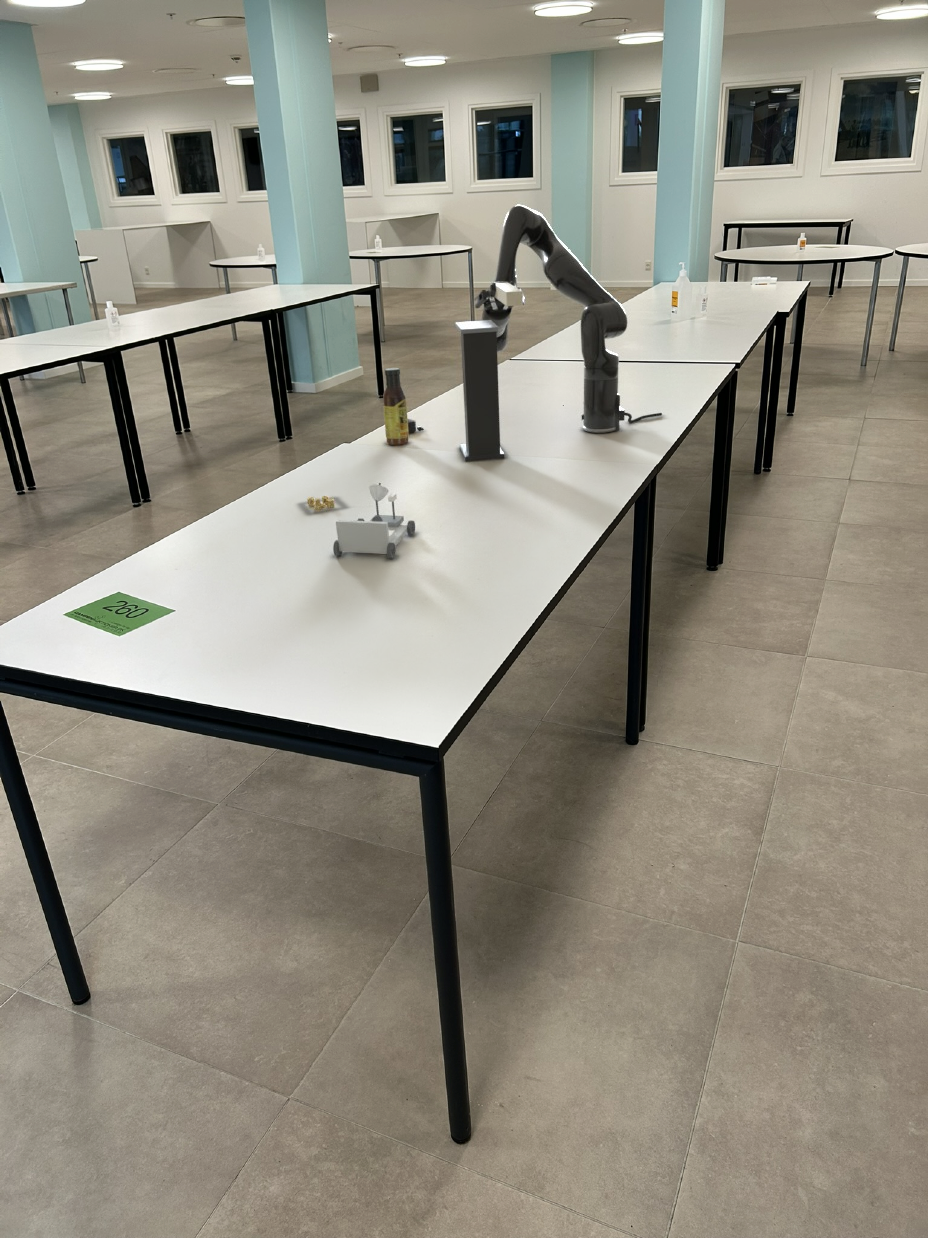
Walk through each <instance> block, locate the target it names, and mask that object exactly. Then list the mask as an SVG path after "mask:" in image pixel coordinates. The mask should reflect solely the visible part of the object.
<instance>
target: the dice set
mask: <svg viewBox="0 0 928 1238" xmlns="http://www.w3.org/2000/svg"><path fill="white" fill-rule="evenodd" d="M306 500H307V506H308V507H309V508H310V507H314V511H321V510H322V509H326V508H328V509H333V508H335V507H336V506H335V498H330V497H329V495H323V496H321V498H320V497H317V498H315V497H314V496H309V497H307V499H306ZM321 501H322V503H321Z"/></svg>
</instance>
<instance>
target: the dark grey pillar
mask: <svg viewBox="0 0 928 1238" xmlns="http://www.w3.org/2000/svg"><path fill="white" fill-rule="evenodd" d="M455 328H456V329H457V330H458V331H459V333H460V343H461V345H460V347H461V366H462V387H463V389H462V390H463V407H464V408H463V409H464V427H465V428H464V431H465V443H459V449H460V451H461V455H462V456H463V459H464V461H465V462H475V461H476V462H478V461H489V460H503V459H505V458H506V457H505V453H504V451H503V449H502V447H501V426H500V423H501V421H500V392H499V371H498V370H499V364H498V363H499V361H498V360H499V359H498V352H497V332H496V331H499V327H498V326H497V325H496V324H495V323H494V322H493V321H491V320H484V321H481V320H469V321H455Z"/></svg>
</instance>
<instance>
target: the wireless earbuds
mask: <svg viewBox="0 0 928 1238" xmlns="http://www.w3.org/2000/svg"><path fill="white" fill-rule="evenodd" d="M407 419H408V433H409V434H414V433H417V432H421V431H424V429H425V428H424V427H422V426H420V425H417V423H416V422H417V421H416V420H414V419H410V418H407Z"/></svg>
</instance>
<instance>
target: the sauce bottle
mask: <svg viewBox="0 0 928 1238" xmlns="http://www.w3.org/2000/svg"><path fill="white" fill-rule="evenodd" d="M384 375H385V385H386V387H385V390H384V391H383V394H382V400H383V401H382V402H383V419H384V428H385V429H384V431H385V438H386V444H388V445H390V446H400V445H405V444H407V443H409V436H410V435H409V434H410V433H408V419H409V418H408V407H407V405H408V404H407V397H406V395H405V392H404V390H403V388H402V385H401V376H400V375H401V368H399V367H388V368H385V369H384Z"/></svg>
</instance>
